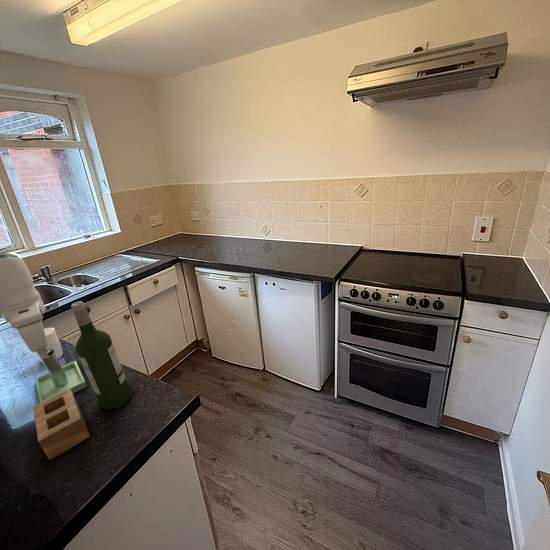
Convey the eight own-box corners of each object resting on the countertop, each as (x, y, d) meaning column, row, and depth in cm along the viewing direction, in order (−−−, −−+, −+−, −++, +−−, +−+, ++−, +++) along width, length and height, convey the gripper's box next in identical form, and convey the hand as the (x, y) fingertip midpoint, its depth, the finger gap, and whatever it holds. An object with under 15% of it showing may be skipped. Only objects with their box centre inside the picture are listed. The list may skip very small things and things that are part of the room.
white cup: (38, 358, 108) (26, 334, 104) (64, 348, 112) (53, 325, 109) (40, 367, 102) (27, 343, 98) (66, 356, 107) (55, 332, 103)
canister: (52, 387, 91) (36, 354, 86) (62, 379, 94) (46, 347, 89) (61, 387, 90) (45, 355, 85) (70, 380, 93) (55, 347, 88)
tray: (37, 383, 94) (35, 378, 93) (77, 365, 101) (75, 360, 100) (42, 408, 83) (39, 403, 82) (87, 386, 90) (84, 381, 89)
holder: (42, 424, 78) (32, 406, 75) (78, 405, 82) (70, 388, 80) (49, 460, 67) (38, 441, 65) (89, 436, 72) (80, 418, 70)
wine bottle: (137, 394, 84) (101, 298, 73) (110, 414, 78) (66, 314, 67) (122, 385, 88) (85, 294, 77) (95, 404, 82) (51, 308, 71)
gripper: (8, 302, 87) (27, 342, 92) (10, 325, 73) (32, 371, 78) (34, 295, 91) (51, 334, 96) (41, 315, 77) (61, 359, 82)
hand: (43, 351), depth 87 cm, fingers open, 8 cm apart
